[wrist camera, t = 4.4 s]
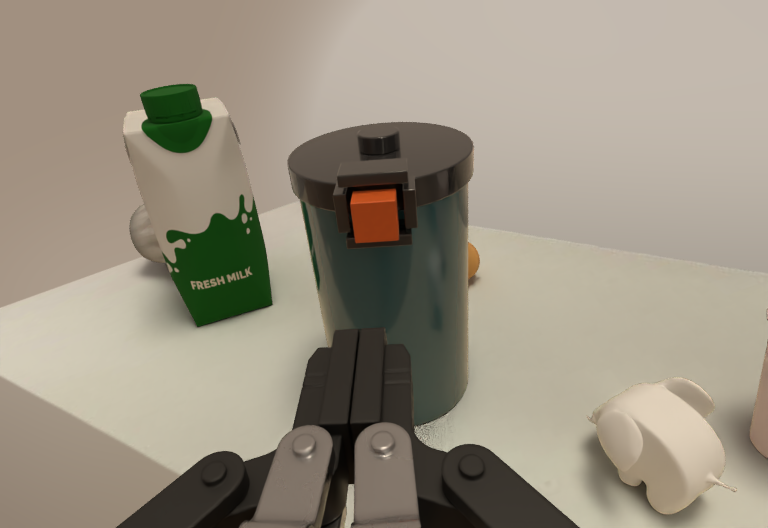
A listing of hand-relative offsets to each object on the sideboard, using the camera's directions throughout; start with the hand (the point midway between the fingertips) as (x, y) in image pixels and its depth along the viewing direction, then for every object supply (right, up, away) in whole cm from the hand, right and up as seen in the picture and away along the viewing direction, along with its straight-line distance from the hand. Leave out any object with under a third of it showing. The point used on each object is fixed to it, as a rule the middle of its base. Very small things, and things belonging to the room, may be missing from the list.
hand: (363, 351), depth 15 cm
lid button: (0, +4, +8) cm, 9 cm away
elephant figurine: (+16, -10, +14) cm, 23 cm away
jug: (+2, -6, +23) cm, 23 cm away
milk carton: (-14, -1, +34) cm, 37 cm away
